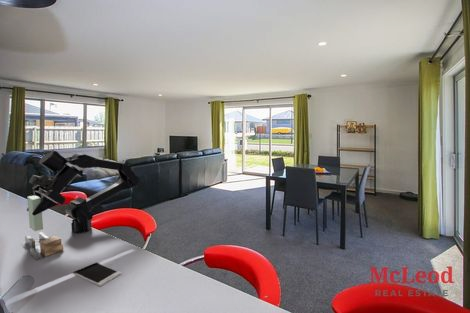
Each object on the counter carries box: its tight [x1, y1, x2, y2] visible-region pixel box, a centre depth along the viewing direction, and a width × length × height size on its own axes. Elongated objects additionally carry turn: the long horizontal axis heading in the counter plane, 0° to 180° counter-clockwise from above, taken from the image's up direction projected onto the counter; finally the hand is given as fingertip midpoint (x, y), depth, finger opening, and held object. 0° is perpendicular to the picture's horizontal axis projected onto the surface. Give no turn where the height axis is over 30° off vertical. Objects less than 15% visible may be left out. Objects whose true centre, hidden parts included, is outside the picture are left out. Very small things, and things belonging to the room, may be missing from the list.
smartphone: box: [71, 262, 122, 287], centre depth 77 cm, size 7×16×1 cm, turn 63°
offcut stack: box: [40, 235, 64, 256], centre depth 88 cm, size 6×5×4 cm
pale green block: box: [26, 194, 44, 232], centre depth 92 cm, size 2×6×12 cm, turn 53°
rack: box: [20, 231, 64, 261], centre depth 90 cm, size 8×18×4 cm, turn 53°
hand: (30, 212), depth 91 cm, fingers closed on pale green block, 6 cm apart
